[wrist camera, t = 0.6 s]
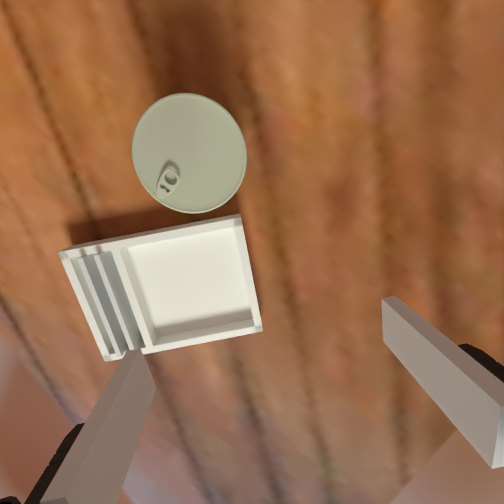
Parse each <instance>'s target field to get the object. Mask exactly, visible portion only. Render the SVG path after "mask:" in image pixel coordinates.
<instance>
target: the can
mask: <svg viewBox="0 0 504 504" xmlns="http://www.w3.org/2000/svg"><path fill="white" fill-rule="evenodd" d="M132 158H133V164H134V167H135V170H136V173H137V175H138V178H139V180H140V181H141V183H142V185H143V186H144V187H145V189H146V190H147V191H148V192H149V194H150V195H151V196H153V197H154V198H155V199H156V200H157V201H158V202H160V203H161V204H163V205H164V206H166V207H168V208H170V209H173V210H176V211H179V212H183V213H204V212H208V211H211V210H214V209H216V208H218V207H220V206H221V205H223V204H224V203H226V202H227V201H228V200H229V199H230V198H231V197H232V196H233V195H234V194H235V193H236V191H237V190H238V188H239V186H240V185H241V183H242V180H243V178H244V175H245V171H246V165H247V150H246V144H245V140H244V137H243V134H242V131H241V129H240V127H239V126H238V124H237V122H236V121H235V119H234V118H233V117H232V115H231V114H230V113H229V112H228V111H227V110H226V109H225V108H224V107H223V106H221V105H220V104H219V103H217V102H216V101H214V100H212V99H210V98H208V97H205V96H203V95H199V94H194V93H176V94H172V95H168V96H165V97H163V98H161V99H159V100H157V101H156V102H155V103H153V104H152V105H151V106H149V107H148V108H147V109H146V111H145V112H144V113H143V114H142V116H141V117H140V119H139V121H138V123H137V125H136V128H135V130H134V134H133V139H132Z"/></svg>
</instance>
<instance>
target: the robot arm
mask: <svg viewBox="0 0 504 504" xmlns="http://www.w3.org/2000/svg"><path fill="white" fill-rule="evenodd" d="M382 325H383V342H384V343H385V344H386V345H387V346H388V347H389V349H390V350H391V351H392V352H393V353H394V355H395V356H396V357H397V358H398V359H399V360H400V362H401V363H402V364H403V365H404V366H405V367H406V369H407V370H408V371H409V372H410V373H411V374H412V376H413V377H414V378H415V379H416V380H417V382H418V383H419V384H420V385H421V386H422V387H423V389H424V390H425V391H426V392H427V393H428V394H429V396H430V397H431V398H432V399H433V400H434V402H435V403H436V404H437V405H438V406H439V407H440V409H441V410H442V411H443V412H444V413H445V414H446V416H447V417H448V418H449V419H450V420H451V421H452V423H453V424H454V425H455V426H456V427H457V429H458V430H459V431H460V432H461V433H462V434H463V436H464V437H465V438H466V439H467V440H468V441H469V443H470V444H471V445H472V446H473V447H474V449H475V450H476V451H477V452H478V453H479V454H480V456H481V457H482V458H483V459H484V460H485V461H486V463H487V464H488V465H489V466H490V467H491V468H492V469H493V468H498V467H503V466H504V366H502V365H501V364H500V363H498V362H496V361H495V360H494V359H493V358H492V357H490V356H489V355H488V354H486V353H485V352H484V351H482V350H480V349H478V348H476V347H473V346H471V345H469V344H467V343H466V344H461V345H456V344H455V343H453V342H452V341H451V340H450V339H448V338H447V337H446V336H445V335H443V334H442V333H441V332H440V331H439V330H437V329H436V328H435V327H434V326H432V325H431V324H430V323H429V322H427V321H426V320H425V319H424V318H422V317H421V316H420V315H419V314H417V313H416V312H415V311H414V310H412V309H411V308H410V307H409V306H408V305H406V304H405V303H404V302H403V301H401V300H400V299H399V298H398V297H396V296H393V297H388V298H383V299H382ZM155 390H156V386H155V383H154V381H153V378H152V376H151V373H150V371H149V368H148V366H147V363H146V361H145V358H144V356H143V353H142V351H141V348H139V349H134V350H129V351H126V353H125V354H124V356H123V358H122V360H121V361H120V363H119V365H118V367H117V368H116V370H115V372H114V374H113V375H112V377H111V379H110V381H109V382H108V384H107V386H106V388H105V389H104V391H103V393H102V394H101V396H100V398H99V400H98V401H97V403H96V405H95V407H94V408H93V410H92V412H91V414H90V415H89V417H88V419H87V421H86V422H85V423H82V424H77V425H76V426H75V427H74V428H73V429H72V431H71V432H70V433H69V434H68V435H67V436H66V437H65V438H64V440H63V441H62V443H61V445H60V446H59V448H58V450H57V451H56V454H55V455H54V456H53V458H52V459H51V461H50V463H49V466H47V467H46V469H45V471H44V473H43V474H42V476H41V477H40V479H39V481H38V482H37V484H36V485H35V487H34V489H33V490H32V492H31V493H30V495H29V496H28V498H27V500H26V501H25V503H24V504H116V503H117V500H118V497H119V494H120V491H121V488H122V486H123V483H124V480H125V477H126V474H127V471H128V468H129V465H130V462H131V460H132V457H133V454H134V451H135V448H136V445H137V442H138V439H139V436H140V433H141V431H142V428H143V425H144V422H145V419H146V416H147V413H148V410H149V407H150V405H151V402H152V399H153V396H154V393H155ZM0 504H21V503H20V501H19V500H18V499H17V498H16V497H12V496H9V497H6V498H2V499H0Z"/></svg>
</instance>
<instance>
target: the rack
mask: <svg viewBox="0 0 504 504" xmlns="http://www.w3.org/2000/svg"><path fill="white" fill-rule="evenodd" d="M58 254H59V256H60V259H61V261H62V263H63V266H64V268H65V270H66V273H67V275H68V277H69V280H70V282H71V284H72V287H73V289H74V291H75V294H76V296H77V298H78V301H79V303H80V305H81V308H82V310H83V312H84V315H85V317H86V319H87V322H88V324H89V326H90V329H91V331H92V333H93V336H94V338H95V340H96V343H97V345H98V347H99V350H100V352H101V354H102V357H103V359H104V361H105V362H107V361H112V360H117V359H122V358H123V356H124V354H125V353H126V351H129V350H134V349H139V348H141V351H142V353H143V354H148V353H153V352H158V351H163V350H169V349H174V348H179V347H184V346H189V345H194V344H199V343H205V342H210V341H215V340H220V339H225V338H230V337H235V336H240V335H246V334H251V333H256V332H261V331H263V328H262V322H261V317H260V312H259V307H258V301H257V296H256V291H255V286H254V281H253V276H252V271H251V265H250V260H249V255H248V250H247V245H246V240H245V235H244V229H243V224H242V219H241V214H240V213H239V214H234V215H229V216H223V217H218V218H213V219H208V220H202V221H197V222H192V223H187V224H181V225H176V226H171V227H166V228H160V229H155V230H150V231H145V232H139V233H134V234H129V235H124V236H118V237H113V238H108V239H103V240H98V241H92V242H87V243H82V244H77V245H72V246H70V247H68V248H66V249H64V250H61V251H59V252H58Z"/></svg>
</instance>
